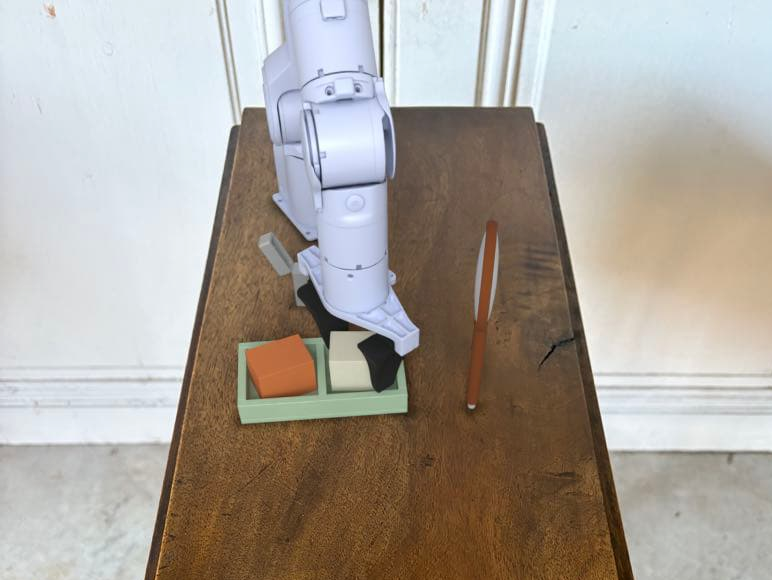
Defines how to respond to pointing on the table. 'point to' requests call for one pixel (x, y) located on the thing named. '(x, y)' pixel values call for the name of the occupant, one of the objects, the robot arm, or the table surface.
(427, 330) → the table surface
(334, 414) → the tray
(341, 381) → the cream rectangular block
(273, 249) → the lighter
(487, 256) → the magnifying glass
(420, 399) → the table surface
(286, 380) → the orange block
